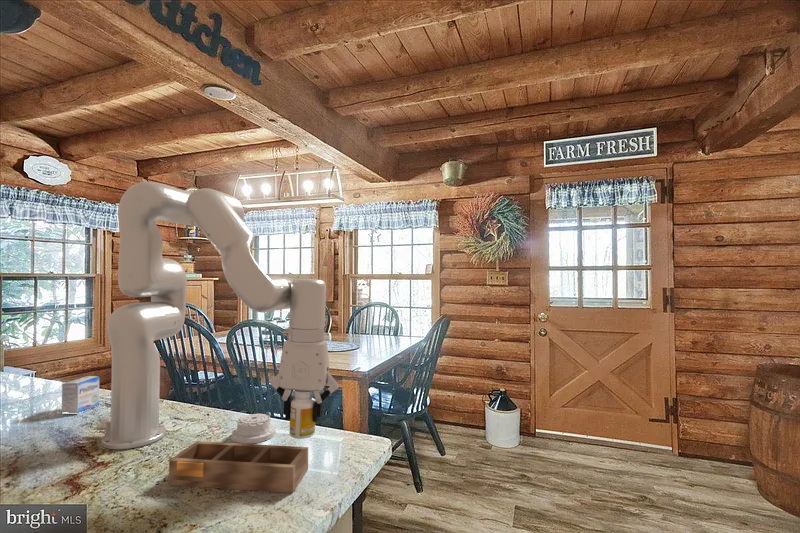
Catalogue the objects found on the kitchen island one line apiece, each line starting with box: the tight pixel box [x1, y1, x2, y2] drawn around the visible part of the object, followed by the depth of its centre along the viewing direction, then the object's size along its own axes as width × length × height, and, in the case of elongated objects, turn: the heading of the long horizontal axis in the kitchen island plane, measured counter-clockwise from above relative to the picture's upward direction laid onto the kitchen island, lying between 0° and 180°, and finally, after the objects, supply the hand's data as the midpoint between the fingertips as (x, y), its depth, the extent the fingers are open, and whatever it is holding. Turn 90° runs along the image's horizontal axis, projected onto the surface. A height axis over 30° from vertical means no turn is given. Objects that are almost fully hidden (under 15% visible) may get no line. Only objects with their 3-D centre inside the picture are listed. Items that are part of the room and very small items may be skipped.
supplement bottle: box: [289, 390, 316, 440], centre depth 88 cm, size 5×5×10 cm
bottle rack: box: [168, 440, 309, 494], centre depth 77 cm, size 24×9×4 cm, turn 85°
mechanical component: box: [231, 413, 276, 444], centre depth 97 cm, size 10×4×10 cm
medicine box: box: [61, 375, 100, 413], centre depth 113 cm, size 8×4×9 cm, turn 179°
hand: (302, 417), depth 88 cm, fingers closed on supplement bottle, 5 cm apart
